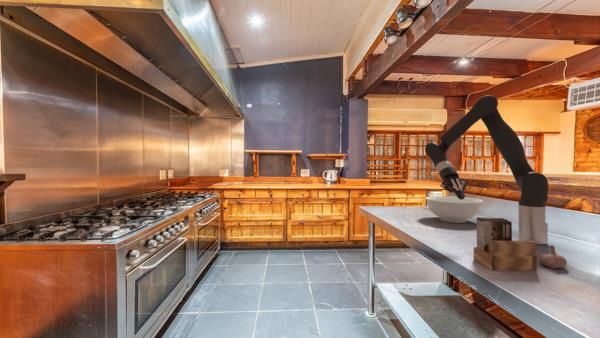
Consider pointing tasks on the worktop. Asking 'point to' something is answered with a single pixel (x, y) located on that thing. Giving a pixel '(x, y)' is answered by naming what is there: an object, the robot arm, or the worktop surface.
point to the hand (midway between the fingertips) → (462, 198)
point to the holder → (508, 256)
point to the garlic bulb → (553, 259)
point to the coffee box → (492, 231)
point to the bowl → (454, 208)
